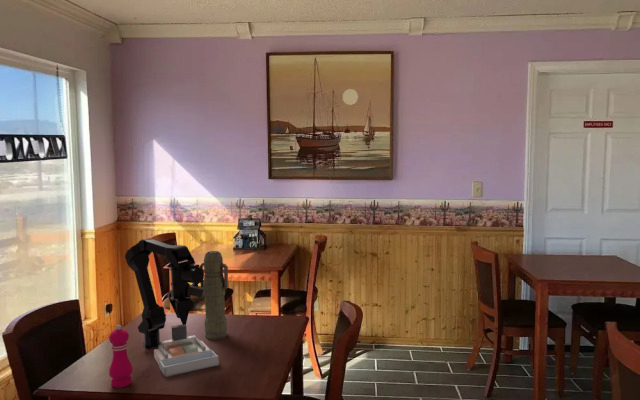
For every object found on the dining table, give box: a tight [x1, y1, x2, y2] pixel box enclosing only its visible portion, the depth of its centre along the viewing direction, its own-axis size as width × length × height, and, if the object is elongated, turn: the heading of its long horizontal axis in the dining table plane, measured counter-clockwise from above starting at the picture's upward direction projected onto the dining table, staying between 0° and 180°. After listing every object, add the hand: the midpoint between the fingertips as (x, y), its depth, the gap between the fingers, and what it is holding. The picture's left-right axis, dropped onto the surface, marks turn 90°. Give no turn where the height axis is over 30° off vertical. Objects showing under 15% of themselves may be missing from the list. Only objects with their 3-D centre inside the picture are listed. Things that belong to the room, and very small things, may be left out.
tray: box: [158, 349, 220, 378], centre depth 188 cm, size 8×19×4 cm, turn 119°
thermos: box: [199, 250, 229, 341], centre depth 217 cm, size 9×12×35 cm
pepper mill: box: [108, 324, 134, 389], centre depth 175 cm, size 7×7×20 cm
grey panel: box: [162, 323, 197, 351], centre depth 199 cm, size 2×12×8 cm, turn 119°
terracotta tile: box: [169, 347, 184, 356], centre depth 193 cm, size 4×4×1 cm
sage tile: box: [182, 344, 198, 353], centre depth 196 cm, size 4×4×1 cm
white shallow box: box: [153, 337, 211, 365], centre depth 196 cm, size 11×18×4 cm, turn 119°
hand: (181, 321), depth 198 cm, fingers open, 9 cm apart
